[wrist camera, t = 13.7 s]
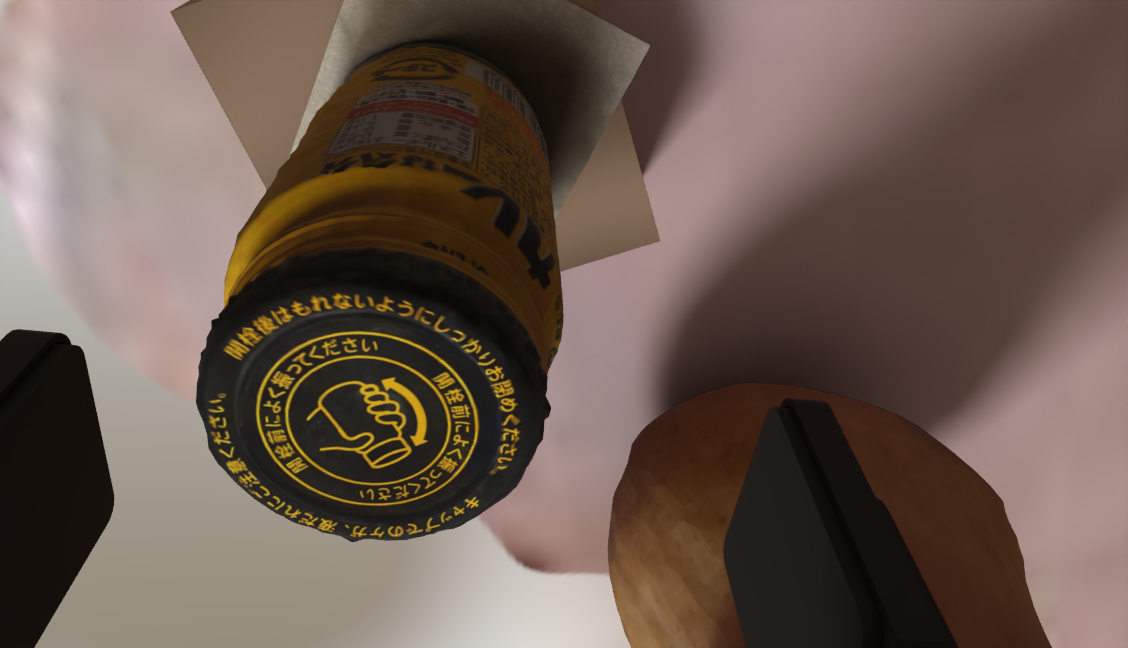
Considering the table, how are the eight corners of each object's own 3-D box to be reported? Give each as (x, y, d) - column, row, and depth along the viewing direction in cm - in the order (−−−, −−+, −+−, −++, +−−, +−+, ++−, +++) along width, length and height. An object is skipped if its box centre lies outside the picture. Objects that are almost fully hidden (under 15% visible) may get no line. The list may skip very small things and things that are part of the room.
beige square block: (228, -22, 24) (170, 11, 20) (548, -138, 23) (559, -127, 19) (369, 262, 29) (346, 336, 25) (636, 177, 28) (660, 241, 24)
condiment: (272, 204, 23) (81, 512, 13) (379, -101, 19) (231, -13, 9) (510, 300, 25) (510, 632, 15) (649, 42, 21) (780, 247, 11)
